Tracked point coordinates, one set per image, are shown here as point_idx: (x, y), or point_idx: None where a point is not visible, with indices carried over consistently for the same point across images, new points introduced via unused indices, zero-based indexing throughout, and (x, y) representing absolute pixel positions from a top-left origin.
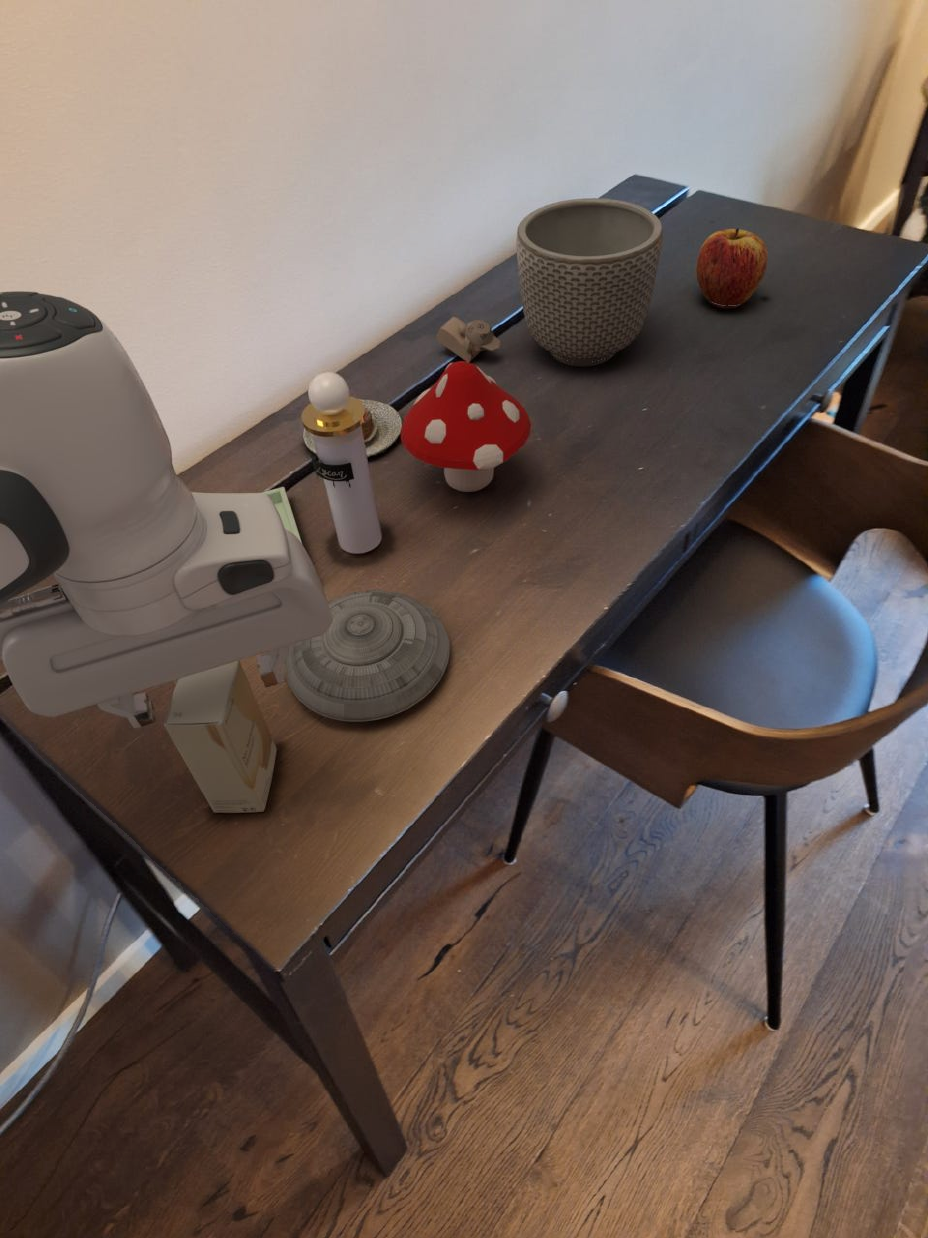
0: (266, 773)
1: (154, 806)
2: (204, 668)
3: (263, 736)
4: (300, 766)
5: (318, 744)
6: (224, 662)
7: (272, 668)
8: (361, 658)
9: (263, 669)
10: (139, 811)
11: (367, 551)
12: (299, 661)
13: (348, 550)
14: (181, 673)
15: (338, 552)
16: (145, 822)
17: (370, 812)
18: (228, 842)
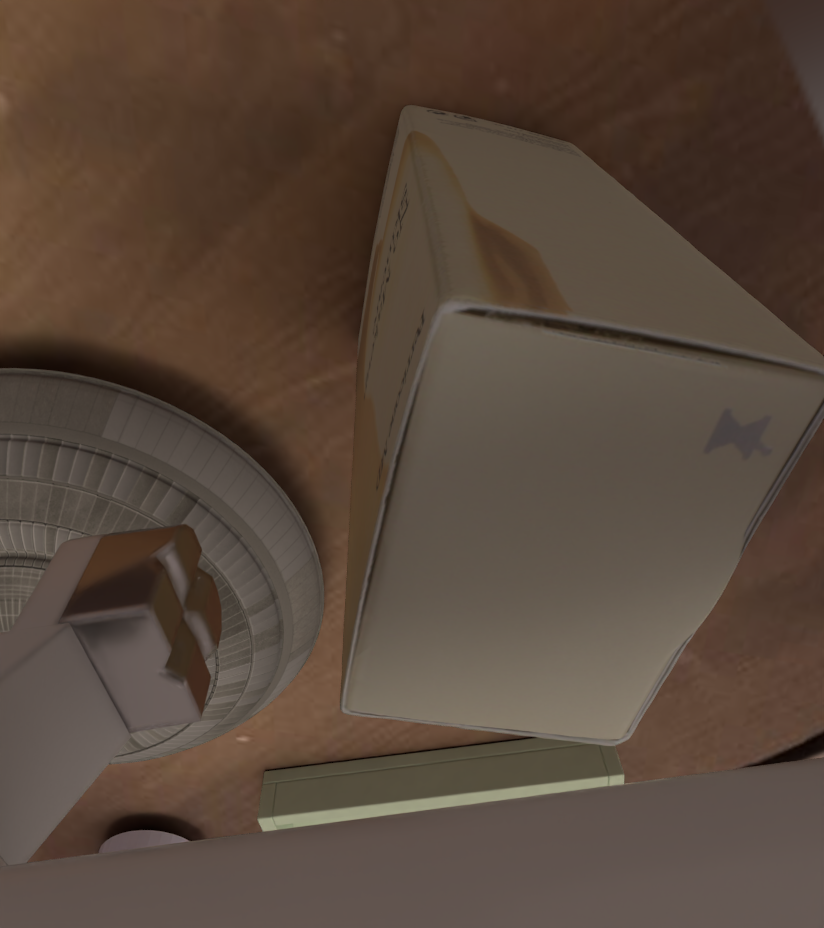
0: (377, 235)
1: (752, 220)
2: (486, 857)
3: (362, 357)
4: (283, 264)
5: (228, 332)
6: (237, 889)
7: (41, 648)
8: (20, 581)
9: (131, 646)
10: (800, 213)
11: (128, 832)
12: (257, 601)
13: (175, 841)
14: (787, 866)
15: (211, 830)
16: (791, 165)
17: (10, 6)
18: (536, 5)
